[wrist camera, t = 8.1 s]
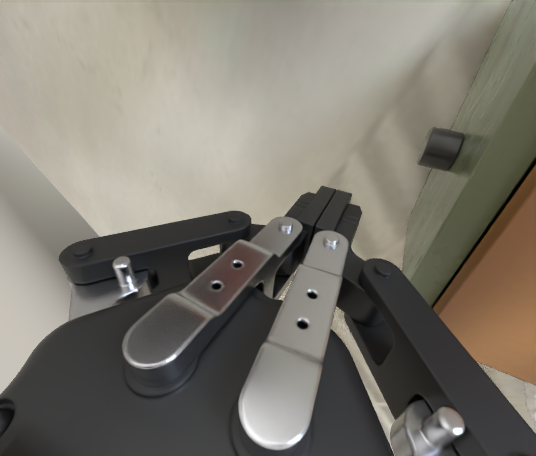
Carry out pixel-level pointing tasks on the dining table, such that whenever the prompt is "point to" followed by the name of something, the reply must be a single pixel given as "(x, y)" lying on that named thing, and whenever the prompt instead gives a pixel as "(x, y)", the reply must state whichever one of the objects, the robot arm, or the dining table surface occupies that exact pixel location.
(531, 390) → the seated beast figurine
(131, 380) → the robot arm
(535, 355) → the cabinet
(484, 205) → the drawer
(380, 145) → the dining table surface
